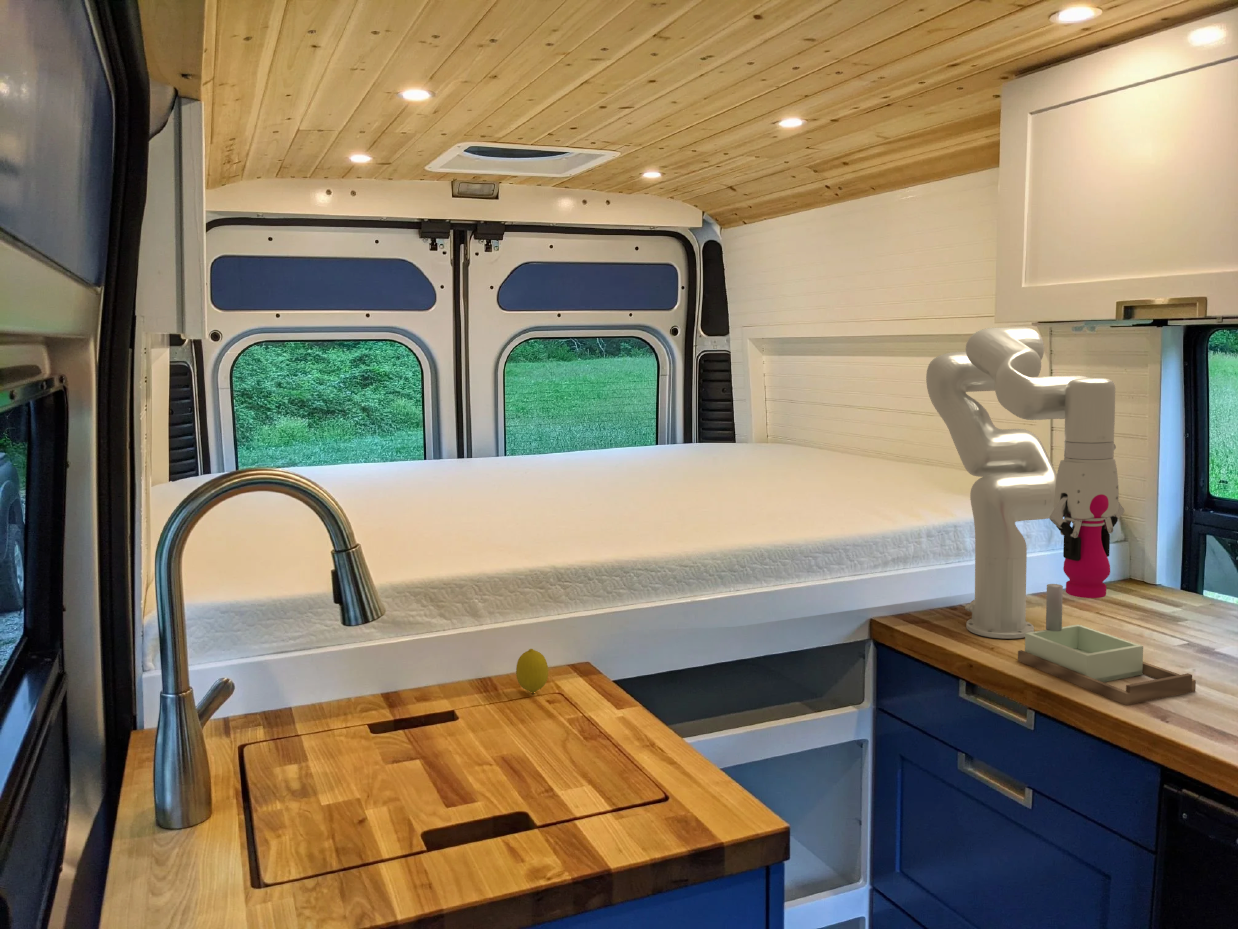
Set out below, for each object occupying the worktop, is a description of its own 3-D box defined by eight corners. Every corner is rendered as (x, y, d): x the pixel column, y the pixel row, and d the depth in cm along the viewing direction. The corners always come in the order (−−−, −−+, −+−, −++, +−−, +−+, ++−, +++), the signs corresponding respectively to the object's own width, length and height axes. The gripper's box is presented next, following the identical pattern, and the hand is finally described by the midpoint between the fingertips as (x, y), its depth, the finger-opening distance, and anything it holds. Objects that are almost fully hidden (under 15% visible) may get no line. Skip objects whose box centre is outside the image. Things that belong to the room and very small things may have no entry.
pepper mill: (1117, 598, 162) (1122, 480, 160) (1073, 599, 162) (1077, 481, 160) (1097, 588, 169) (1101, 474, 167) (1055, 589, 169) (1058, 475, 167)
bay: (1017, 667, 172) (1018, 645, 172) (1081, 656, 177) (1081, 634, 177) (1125, 712, 150) (1126, 687, 150) (1195, 698, 155) (1196, 674, 155)
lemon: (548, 698, 165) (546, 653, 164) (515, 700, 165) (513, 654, 164) (550, 687, 171) (548, 643, 170) (519, 688, 171) (516, 644, 170)
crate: (1021, 658, 173) (1022, 587, 171) (1074, 649, 177) (1075, 580, 175) (1086, 685, 159) (1088, 608, 158) (1142, 674, 163) (1144, 599, 161)
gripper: (1110, 446, 169) (1107, 548, 171) (1031, 453, 163) (1029, 558, 166) (1146, 450, 162) (1143, 556, 164) (1065, 457, 156) (1063, 567, 159)
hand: (1086, 556), depth 165 cm, fingers closed on pepper mill, 5 cm apart
